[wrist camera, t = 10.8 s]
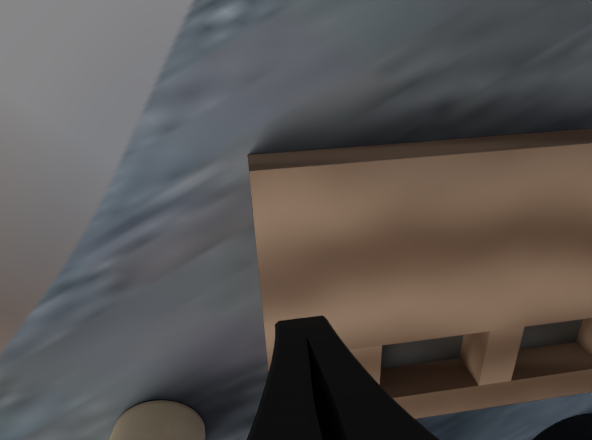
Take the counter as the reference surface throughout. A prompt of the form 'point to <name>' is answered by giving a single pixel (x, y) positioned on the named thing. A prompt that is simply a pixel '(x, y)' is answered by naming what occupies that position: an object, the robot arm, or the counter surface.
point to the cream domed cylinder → (159, 422)
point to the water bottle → (569, 429)
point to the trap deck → (438, 262)
